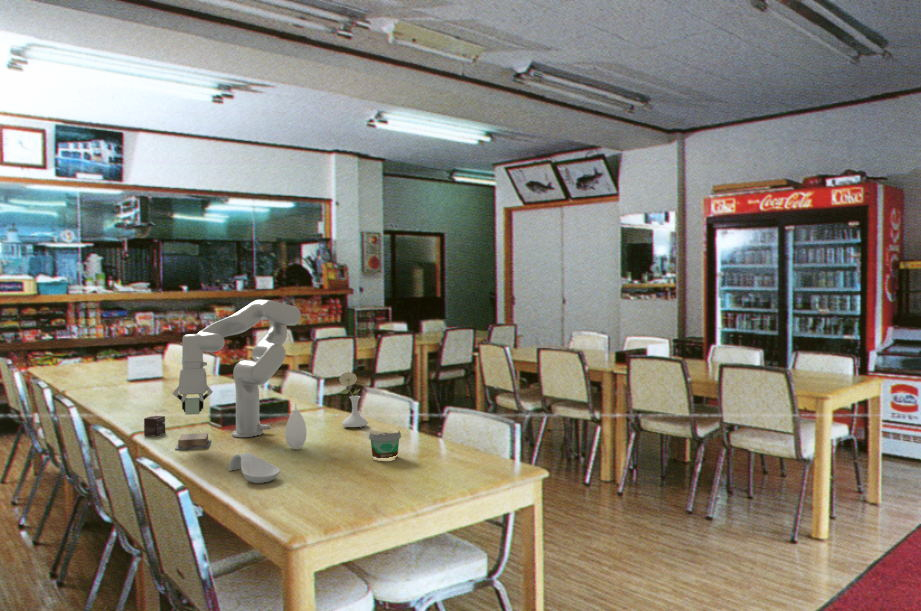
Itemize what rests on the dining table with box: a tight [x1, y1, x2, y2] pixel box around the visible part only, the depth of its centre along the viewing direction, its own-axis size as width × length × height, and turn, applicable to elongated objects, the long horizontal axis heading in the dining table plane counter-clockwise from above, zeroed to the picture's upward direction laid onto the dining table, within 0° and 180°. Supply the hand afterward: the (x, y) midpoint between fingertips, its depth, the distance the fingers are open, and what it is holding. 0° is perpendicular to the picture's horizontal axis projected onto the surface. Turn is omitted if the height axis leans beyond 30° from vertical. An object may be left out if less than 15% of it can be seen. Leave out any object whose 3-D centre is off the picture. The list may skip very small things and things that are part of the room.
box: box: [143, 415, 166, 437], centre depth 277 cm, size 6×6×7 cm
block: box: [184, 396, 201, 416], centre depth 259 cm, size 5×5×6 cm
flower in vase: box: [338, 371, 368, 428], centre depth 293 cm, size 13×11×25 cm
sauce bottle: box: [284, 404, 307, 450], centre depth 254 cm, size 8×8×18 cm
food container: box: [368, 430, 402, 458], centre depth 240 cm, size 12×6×10 cm, turn 118°
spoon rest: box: [227, 452, 281, 484], centre depth 219 cm, size 24×12×7 cm, turn 48°
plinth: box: [174, 432, 212, 451], centre depth 259 cm, size 12×12×4 cm
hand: (192, 410), depth 259 cm, fingers closed on block, 5 cm apart
